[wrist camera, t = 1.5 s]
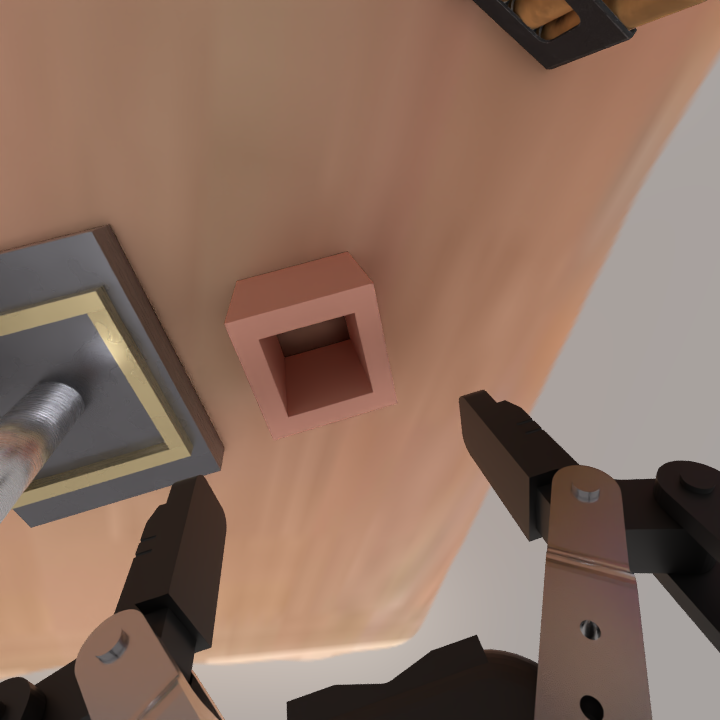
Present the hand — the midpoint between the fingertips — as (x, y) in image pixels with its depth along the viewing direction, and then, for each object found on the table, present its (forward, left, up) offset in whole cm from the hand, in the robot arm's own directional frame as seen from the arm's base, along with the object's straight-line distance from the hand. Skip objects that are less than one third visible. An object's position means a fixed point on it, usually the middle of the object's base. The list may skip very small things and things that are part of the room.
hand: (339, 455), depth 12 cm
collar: (0, 0, -12) cm, 12 cm away
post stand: (0, -13, -12) cm, 17 cm away
